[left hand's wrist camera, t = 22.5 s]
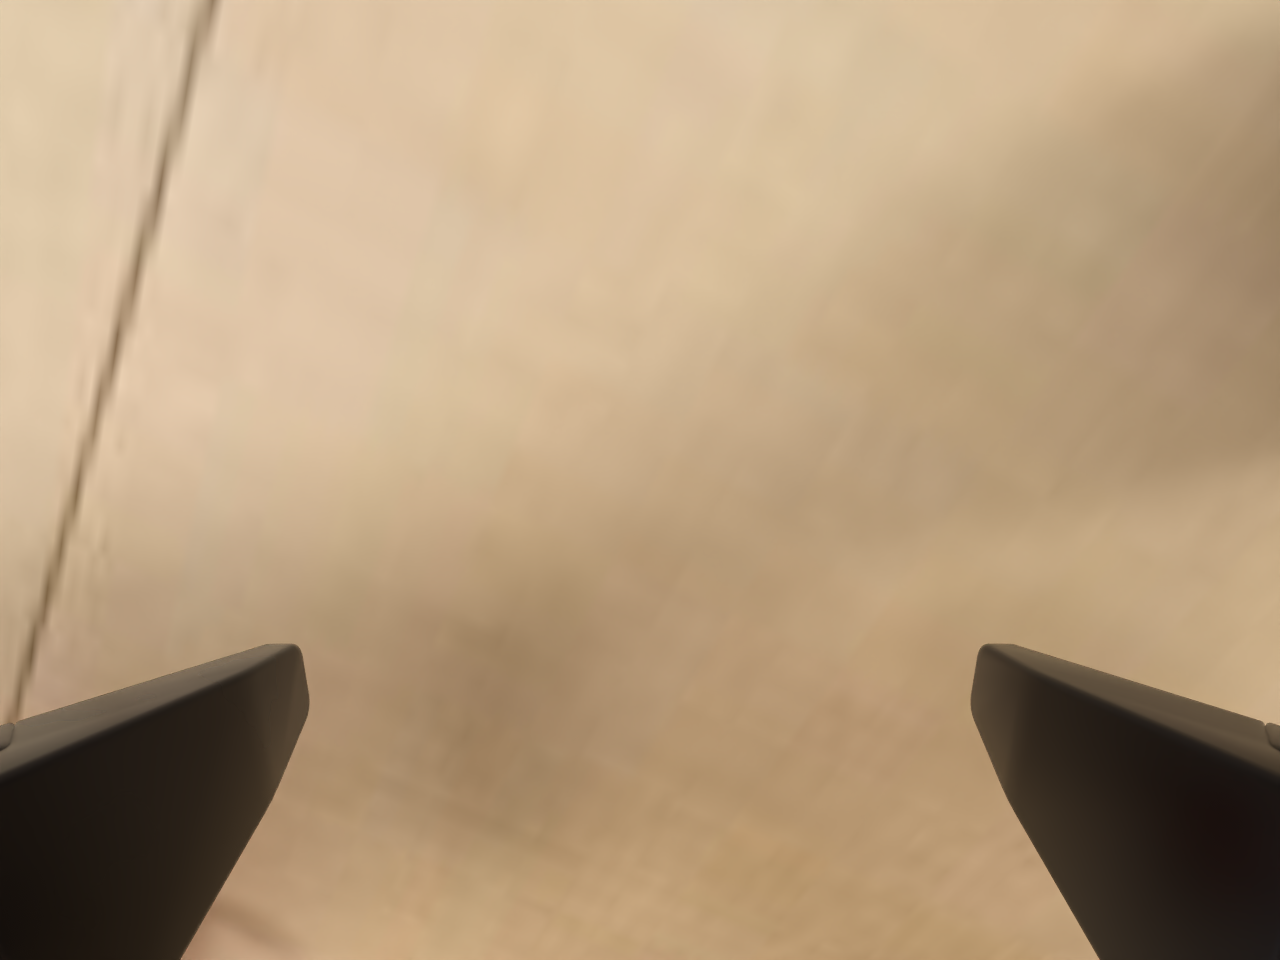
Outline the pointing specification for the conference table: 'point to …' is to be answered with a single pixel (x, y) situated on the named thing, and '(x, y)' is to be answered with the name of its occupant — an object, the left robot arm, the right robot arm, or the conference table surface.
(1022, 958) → the conference table surface
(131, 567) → the conference table surface
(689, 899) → the conference table surface
